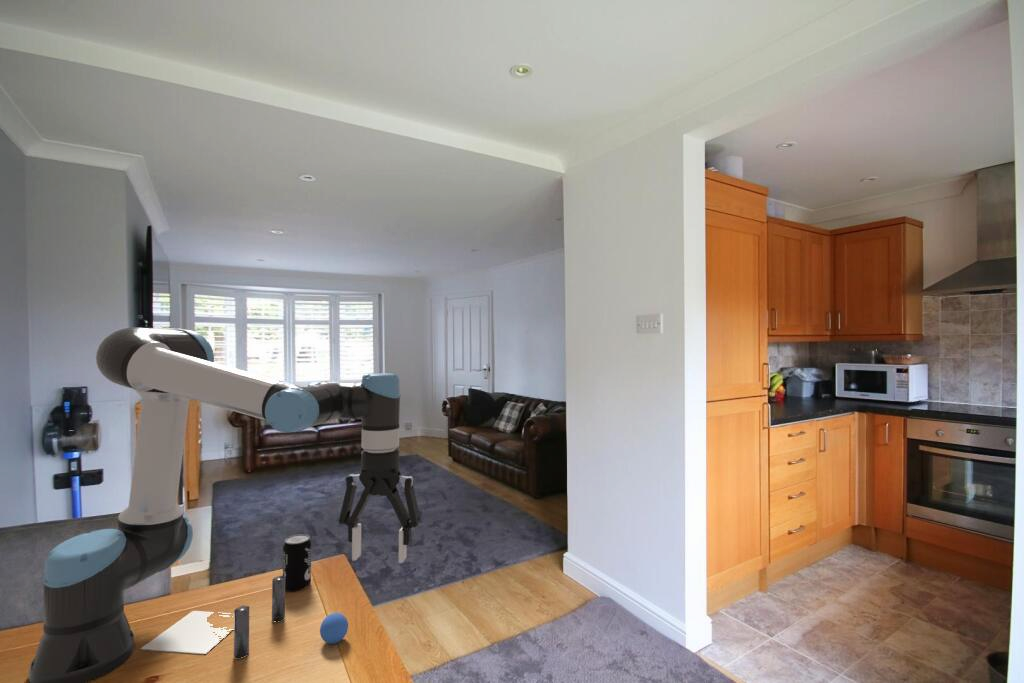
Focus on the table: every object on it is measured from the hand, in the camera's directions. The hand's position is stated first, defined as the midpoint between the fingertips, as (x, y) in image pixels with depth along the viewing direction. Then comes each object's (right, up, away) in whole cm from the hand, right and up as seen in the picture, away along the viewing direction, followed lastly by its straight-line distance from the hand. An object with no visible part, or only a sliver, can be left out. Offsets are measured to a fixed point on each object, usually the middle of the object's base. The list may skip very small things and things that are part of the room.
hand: (379, 558), depth 100 cm
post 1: (-26, -17, -4) cm, 32 cm away
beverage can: (-27, -18, +24) cm, 40 cm away
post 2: (-25, -17, +9) cm, 32 cm away
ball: (-10, -15, +1) cm, 18 cm away
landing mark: (-39, -17, +4) cm, 43 cm away
